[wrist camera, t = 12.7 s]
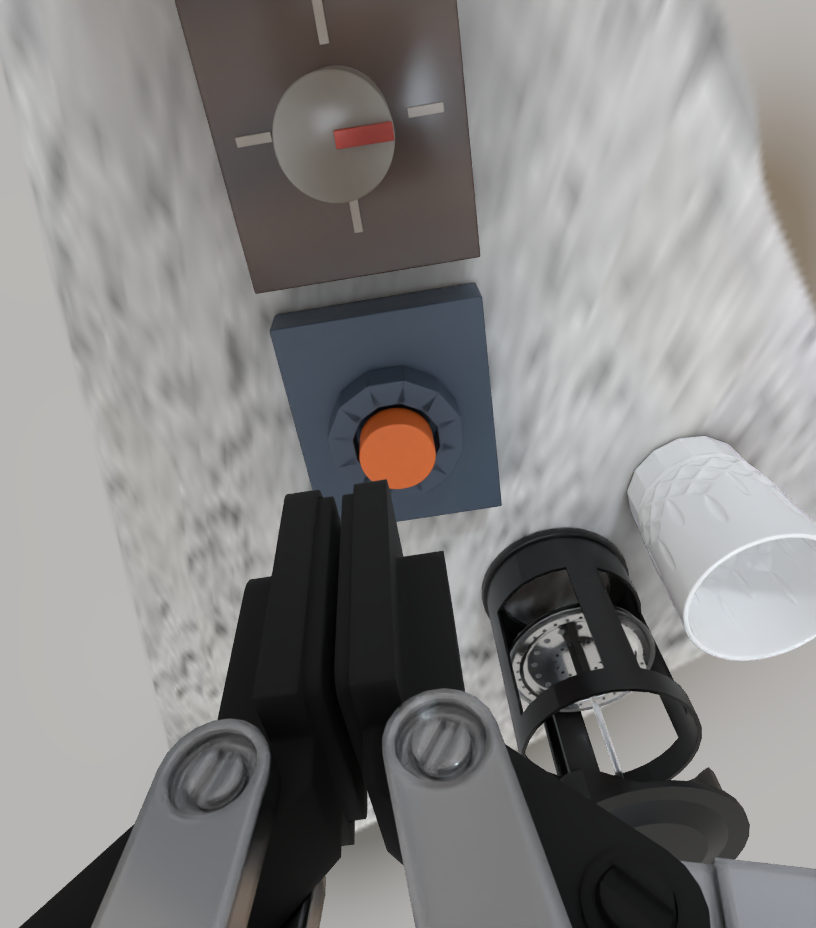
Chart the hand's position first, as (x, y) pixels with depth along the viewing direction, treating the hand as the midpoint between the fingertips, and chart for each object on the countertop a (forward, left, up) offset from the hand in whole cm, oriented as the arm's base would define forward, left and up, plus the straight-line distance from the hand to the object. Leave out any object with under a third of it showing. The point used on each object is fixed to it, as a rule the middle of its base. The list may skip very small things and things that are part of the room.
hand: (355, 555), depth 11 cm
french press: (+24, +8, -24) cm, 35 cm away
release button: (+9, 0, -20) cm, 22 cm away
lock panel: (-5, 0, -24) cm, 24 cm away
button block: (+9, 0, -24) cm, 25 cm away
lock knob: (-5, 0, -21) cm, 21 cm away
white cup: (+17, +16, -24) cm, 33 cm away
